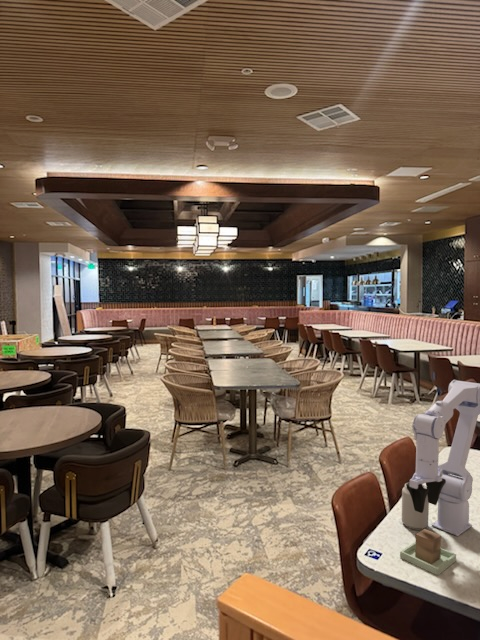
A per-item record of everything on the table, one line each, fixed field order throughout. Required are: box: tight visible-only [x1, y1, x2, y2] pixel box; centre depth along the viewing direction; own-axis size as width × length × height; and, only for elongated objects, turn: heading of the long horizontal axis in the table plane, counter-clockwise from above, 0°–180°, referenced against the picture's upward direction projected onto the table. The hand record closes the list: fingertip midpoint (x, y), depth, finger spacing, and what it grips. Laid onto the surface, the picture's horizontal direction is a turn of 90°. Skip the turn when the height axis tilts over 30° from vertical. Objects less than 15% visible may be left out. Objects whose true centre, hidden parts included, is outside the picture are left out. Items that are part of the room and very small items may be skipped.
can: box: [401, 482, 430, 531], centre depth 136 cm, size 8×8×12 cm
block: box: [415, 528, 442, 564], centre depth 118 cm, size 4×4×6 cm
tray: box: [399, 541, 457, 576], centre depth 118 cm, size 10×10×2 cm
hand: (425, 507), depth 125 cm, fingers open, 7 cm apart
